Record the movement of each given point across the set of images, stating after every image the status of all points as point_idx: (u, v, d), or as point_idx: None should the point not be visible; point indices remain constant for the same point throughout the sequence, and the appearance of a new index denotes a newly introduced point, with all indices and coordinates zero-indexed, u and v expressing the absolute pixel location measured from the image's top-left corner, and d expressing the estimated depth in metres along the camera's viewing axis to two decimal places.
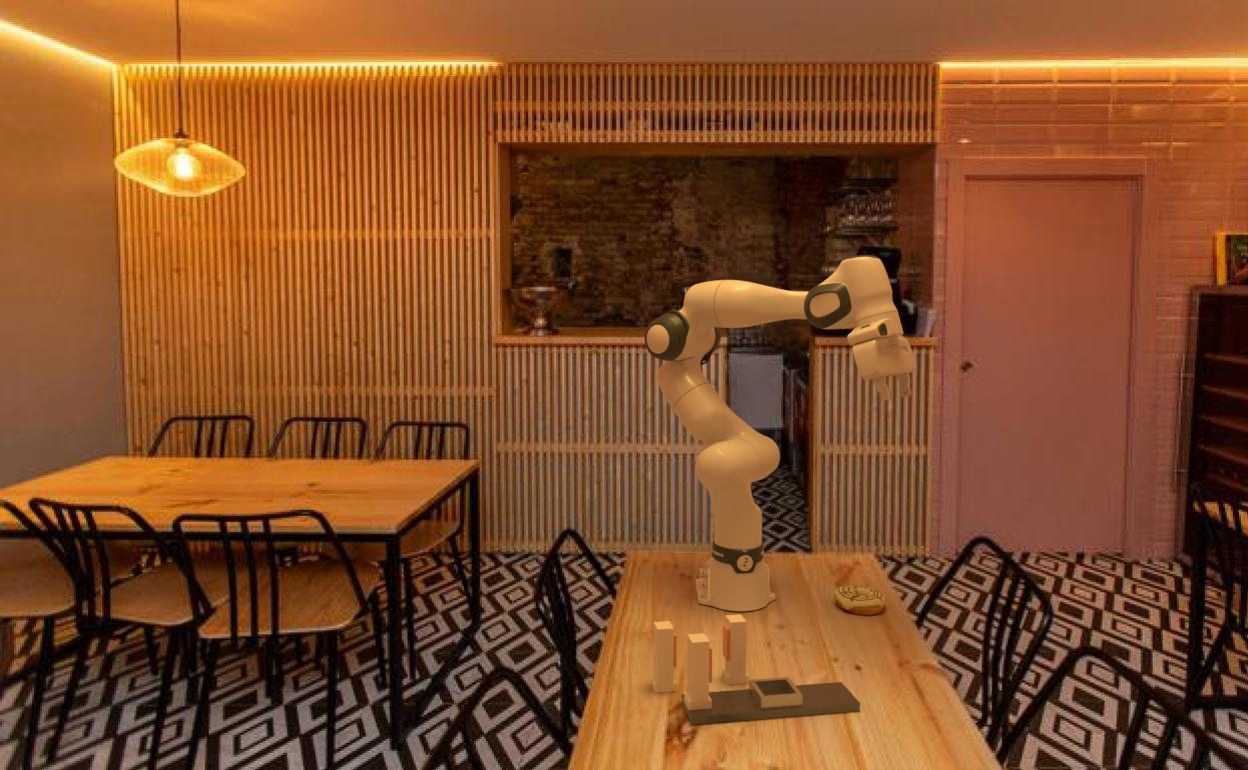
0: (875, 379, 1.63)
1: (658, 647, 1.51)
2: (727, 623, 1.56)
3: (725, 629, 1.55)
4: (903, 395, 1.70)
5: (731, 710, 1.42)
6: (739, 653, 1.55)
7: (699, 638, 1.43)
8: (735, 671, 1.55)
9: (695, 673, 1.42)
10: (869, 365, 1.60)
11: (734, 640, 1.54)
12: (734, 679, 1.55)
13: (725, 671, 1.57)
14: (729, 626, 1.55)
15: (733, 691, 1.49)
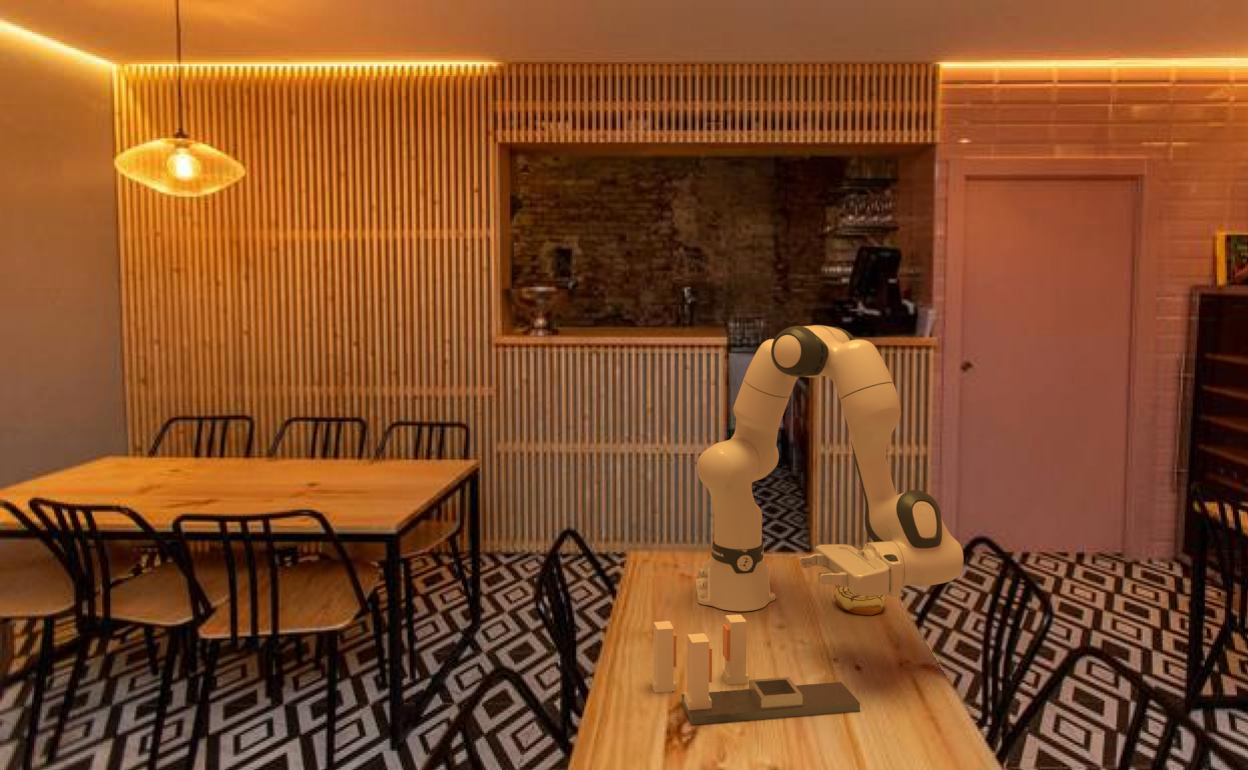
0: (846, 577, 1.51)
1: (658, 647, 1.51)
2: (727, 623, 1.56)
3: (725, 629, 1.55)
4: (803, 562, 1.61)
5: (731, 710, 1.42)
6: (739, 653, 1.55)
7: (699, 638, 1.43)
8: (735, 671, 1.55)
9: (695, 673, 1.42)
10: (869, 588, 1.48)
11: (734, 640, 1.54)
12: (734, 679, 1.55)
13: (725, 671, 1.57)
14: (729, 626, 1.55)
15: (733, 691, 1.49)
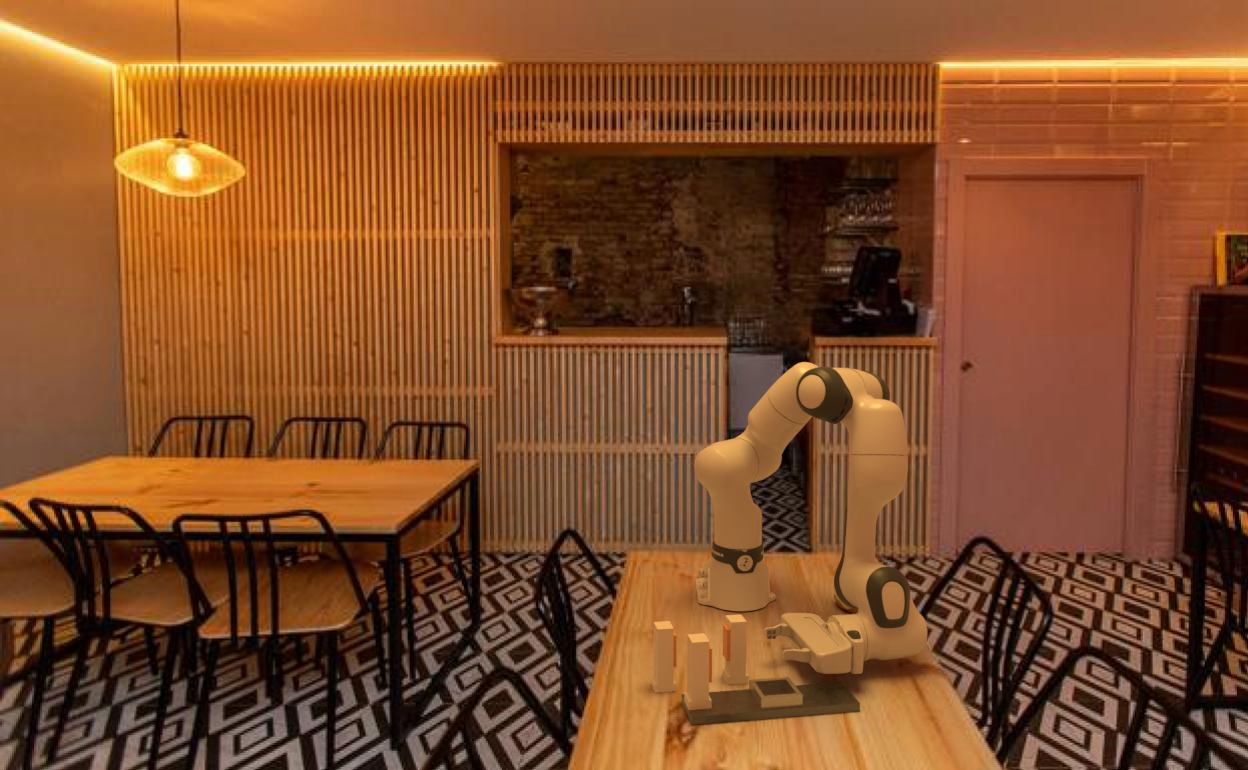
0: (809, 654, 1.52)
1: (658, 647, 1.51)
2: (727, 623, 1.56)
3: (725, 629, 1.55)
4: (768, 633, 1.62)
5: (731, 710, 1.42)
6: (739, 653, 1.55)
7: (699, 638, 1.43)
8: (735, 671, 1.55)
9: (695, 673, 1.42)
10: (830, 667, 1.49)
11: (734, 640, 1.54)
12: (734, 679, 1.55)
13: (725, 671, 1.57)
14: (729, 626, 1.55)
15: (733, 691, 1.49)
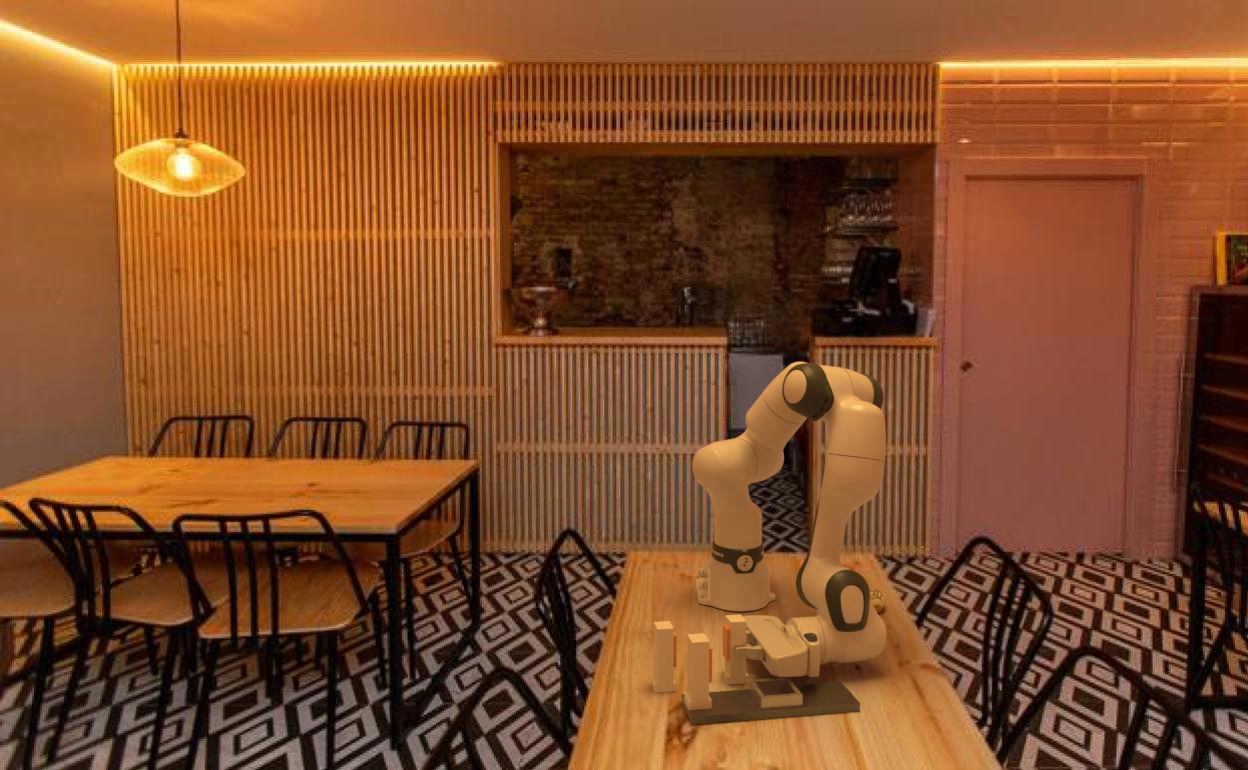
0: (760, 651, 1.53)
1: (658, 647, 1.51)
2: (727, 623, 1.56)
3: (725, 629, 1.55)
4: None
5: (731, 710, 1.42)
6: None
7: (699, 638, 1.43)
8: (735, 671, 1.55)
9: (695, 673, 1.42)
10: (785, 670, 1.48)
11: (734, 640, 1.54)
12: (734, 679, 1.55)
13: (725, 671, 1.57)
14: (729, 626, 1.55)
15: (733, 691, 1.49)
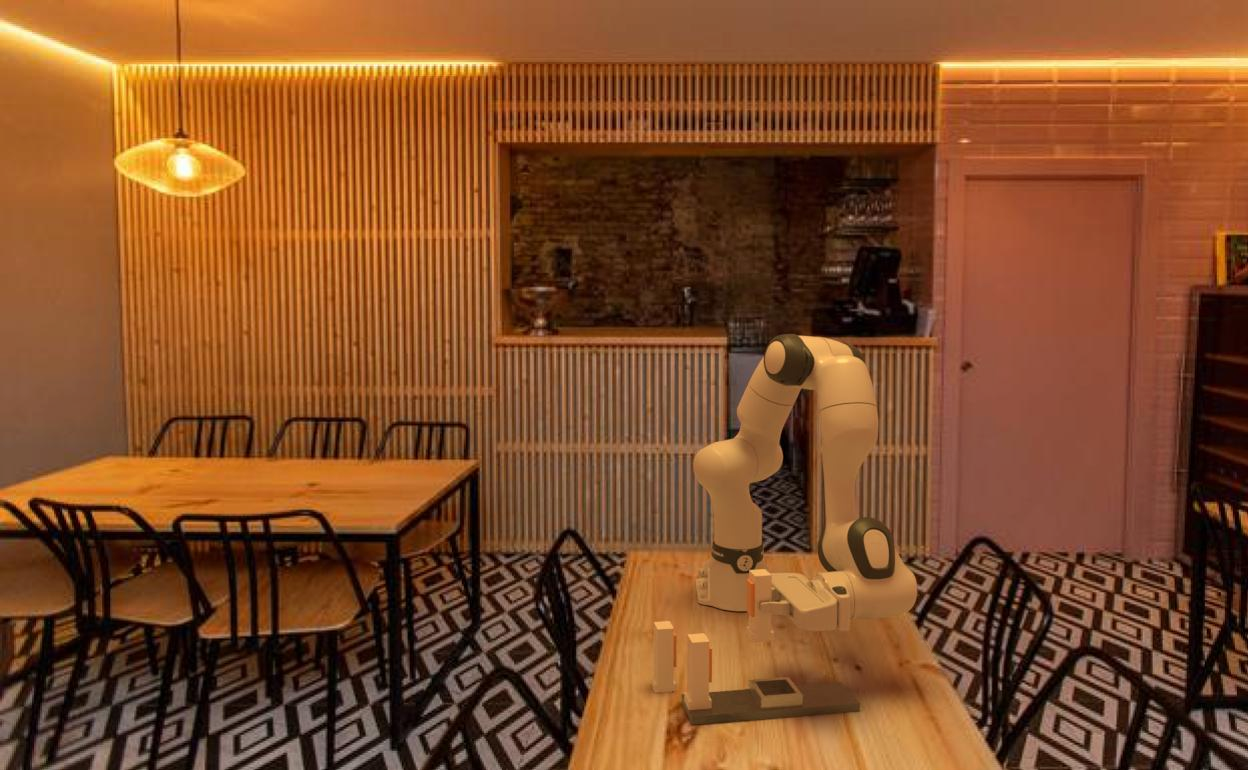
0: (787, 606, 1.45)
1: (658, 647, 1.51)
2: (751, 578, 1.49)
3: (749, 584, 1.48)
4: None
5: (731, 710, 1.42)
6: None
7: (699, 638, 1.43)
8: (760, 628, 1.48)
9: (695, 673, 1.42)
10: (815, 624, 1.40)
11: (758, 595, 1.47)
12: (759, 637, 1.48)
13: (749, 629, 1.50)
14: (753, 580, 1.48)
15: (733, 691, 1.49)
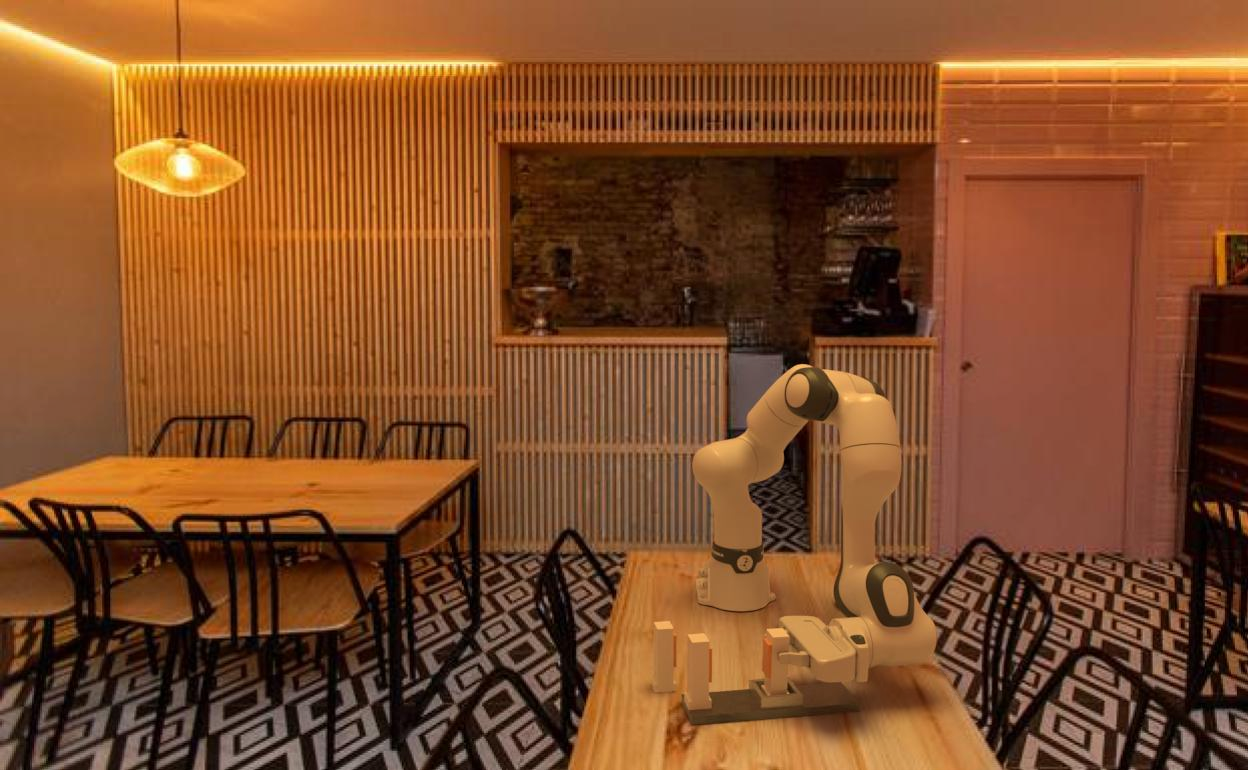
0: (806, 657, 1.41)
1: (658, 647, 1.51)
2: (768, 637, 1.46)
3: (766, 644, 1.45)
4: None
5: (731, 710, 1.42)
6: (781, 670, 1.44)
7: (699, 638, 1.43)
8: (776, 689, 1.45)
9: (695, 673, 1.42)
10: (833, 675, 1.37)
11: (775, 657, 1.44)
12: None
13: (764, 688, 1.47)
14: (771, 641, 1.44)
15: (733, 691, 1.49)
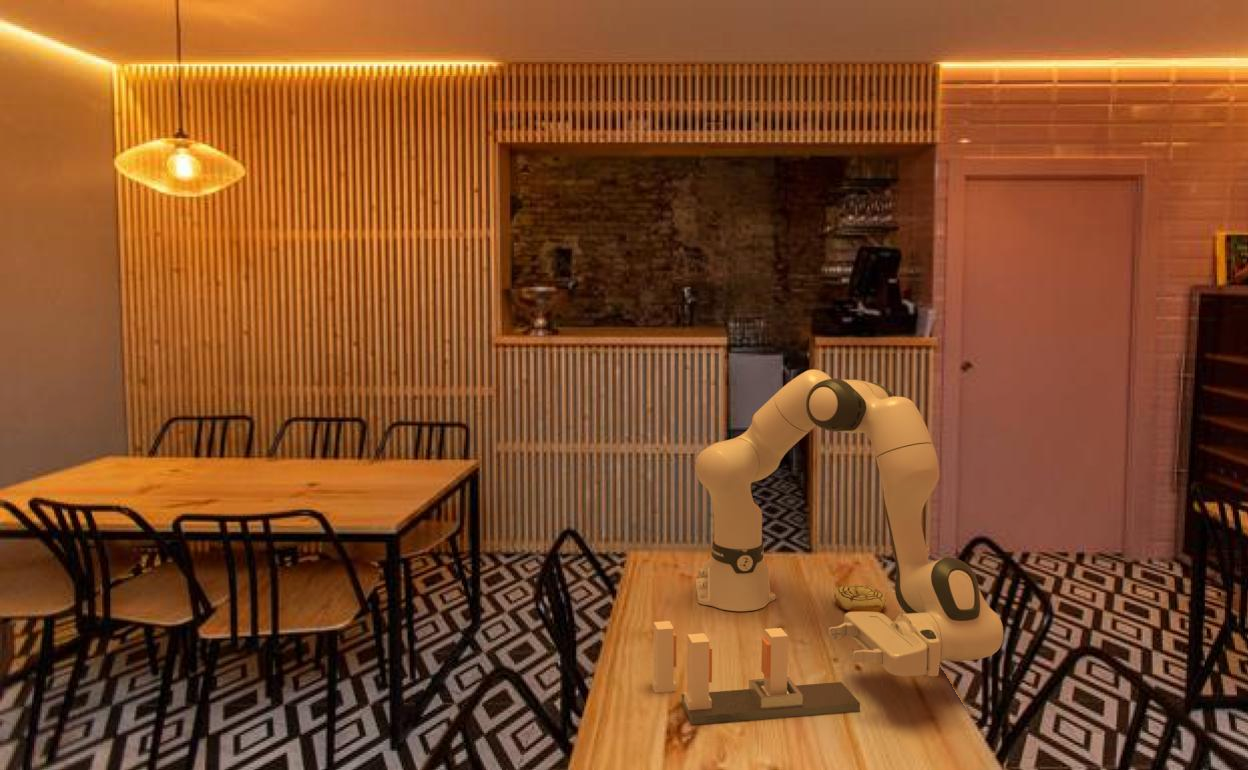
0: (881, 655, 1.42)
1: (658, 647, 1.51)
2: (767, 637, 1.46)
3: (765, 644, 1.45)
4: (833, 633, 1.52)
5: (731, 710, 1.42)
6: (780, 669, 1.45)
7: (699, 638, 1.43)
8: (775, 689, 1.45)
9: (695, 673, 1.42)
10: (906, 669, 1.39)
11: (774, 656, 1.44)
12: None
13: (764, 689, 1.47)
14: (769, 641, 1.45)
15: (733, 691, 1.49)
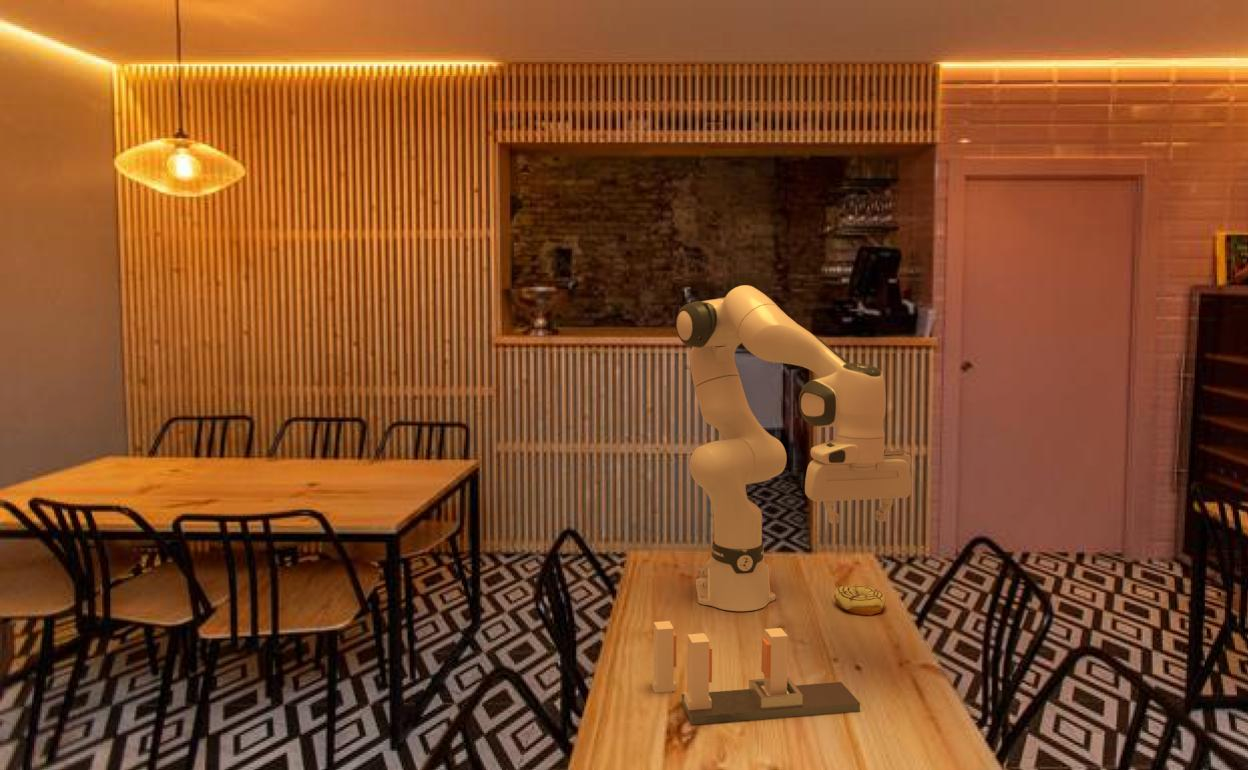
0: None
1: (658, 647, 1.51)
2: (767, 637, 1.46)
3: (765, 644, 1.45)
4: (876, 519, 1.59)
5: (731, 710, 1.42)
6: (780, 669, 1.45)
7: (699, 638, 1.43)
8: (775, 689, 1.45)
9: (695, 673, 1.42)
10: (809, 487, 1.56)
11: (774, 656, 1.44)
12: None
13: (764, 689, 1.47)
14: (769, 641, 1.45)
15: (733, 691, 1.49)
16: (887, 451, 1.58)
